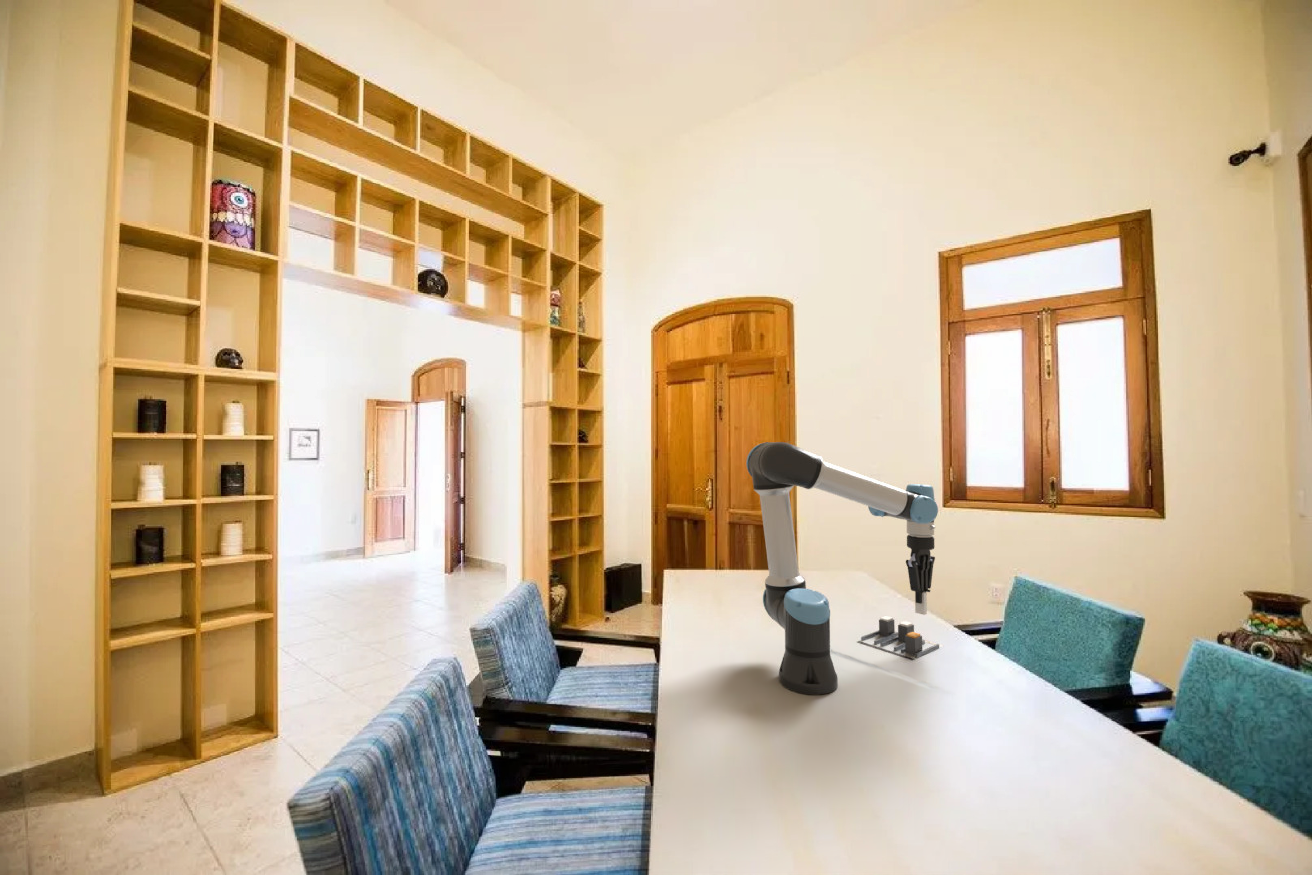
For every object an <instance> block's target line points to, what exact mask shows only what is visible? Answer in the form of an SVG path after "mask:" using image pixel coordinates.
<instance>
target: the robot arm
mask: <svg viewBox="0 0 1312 875" xmlns="http://www.w3.org/2000/svg"><path fill="white" fill-rule="evenodd" d="M745 465H746V469H747V473H748V474H749V475H750V476H751V479H752V486H753V491H754V492H756V493H757V494H758V495H759V500H760V510H761V516H762V517H761V518H762V524H763V525H762V526H763V535H764V541H765V551H766V559H767V560H766V561H767V566H768V576H767V577H766V578H765V579H764V585H765V589H764V591H763V595H762V604H763V607H764V610H765V611H766V613H767V614H768V616H769V618H771V619H772V620H773V621H775V623H777V624H778V625H779V626H780V627H781V628H783V629H784V654H783V656H782V661H781V663H780V667H779V669H778V681H779V683H780V684H781V685H782V686H783V687H784V688H786V689H788V690H790V691H792V692H796V693H799V694H804V695H805V694H806V695H815V696H816V695H817V696H818V695H820V696H821V695H827V694H830V693H832V692H834V691H836V690H837V688H838V686H839V685H838V679H839V678H838V674H837V672H836V670H835V667H834V663H833V660H832V656H831V626H830V625H831V624H830V623H831V619H830V617H831V610H830V602H829V599H828V598H827V597H826V595H824V594H823V593H822V592H819V591H817V590H813V589H809V588H807V585H806V578H805V576H804V575H803V574H802V573H800V571H799V563H798V556H797V553H798V552H797V545H796V537H795V531H794V530H795V529H794V522H793V520H794V519H793V513H792V505H791V499H790V496H791V495H790V492H791V490H793V488H794V487H796V486H797V487H800V488H802V489H806V490H811V489H817V490H820V491H824V492H825V493H828V494H832V495H835V496H837V497H841V498H843V499H846V500H850V501H852V502H856V503H858V504H861V505H864V506H866V507H868V511H869V513H870V514H871V515H872V516H874V517H881V518H884V517H891V518H895V519H900V520H906V534H907V535H906V547H907V548H908V549H911V550H910V554H909V556H910V559H906V560H905V564H906V567H907V572H908V573H907V574H908V580H909V588H910V590H911V592H914V597H915V598H914V599H915V600H914V601H915V602H914V605H915V607H914V608H915V610H914V611H915V612H914V613H916V614H920V615H923V616H925V615H927V614H928V613H927V612H928V611H927V610H928V609H927V608H928V607H927V604H928V602H927V601H928V600H927V598H928V597H927V594H928V593H931V588H932V580H933V579H932V578H933V573H934V572H933V571H934V564H935V560H936V557H935V556H934V555H933V556H932V555H931V551H932V550H934V549H935V537H934V535H935V529H936V526H935V520H936V518H937V517H938V513H939V506H938V504H937V501H936V500H935V499H936V498H935V492H934V491H935V490H934V487H933V486H932V485H930V484H923V483H922V484H919V483H917V484H916V483H913V484H907V485H906V489H905V490H904V489H902V488H900V487H897V486H894V485H891V484H888V483H885V482H882V481H879V480H877V479H874V478H871V477H868V476H865V475H862V474H859V473H857V472H854V471H851V470H848V469H846V468H843V467H840V466H837V465H834V464H831V463H830V462H829V463H828V462H826V461H824V460H823V458H822V456H820V455H818V454H815V453H813V452H809V451H808V450H805V449H803V448H801V447H798V446H796V445H793V444H791V443H789V442H783V441H775V442H772V441H771V442H770V441H769V442H768V441H766V442H762V443H760V444H757V445H755V446H754V447H752V449H751V450H750V451H749V453H748V454H747V457H746V464H745Z"/></svg>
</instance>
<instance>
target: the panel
mask: <svg viewBox="0 0 1312 875" xmlns="http://www.w3.org/2000/svg"><path fill="white" fill-rule="evenodd" d="M876 636H880V635H879V629H878V630H876V631H873V632H870V633H868V634H866V635H863V636H861V638H860V640H858V641H856V643H858V644H860V645H864V646H866V647H870V648H873V649H876V650H878V651H882V652H884V653H888V654H890V655H891V654H892V655H894V656H898V657H900V658H902V659H903V658H904V659H907V660H910V661H914V660H915V659H918V658H920V657H923V656H925V655H927V654H929V653H931V652H934V651H935V650H938V649H939V648H941V647H944V645H942V644H939V643H936V642H933V641H930V640H926V639H923V638H922V646H923V645H925V644H930V645H932V646H929V647H927V648H925V649H922V651H920V652H918V653H916V654H915V656H914V658H913V657H911V656H907V655H904V653H905V643H903V642H902V643H900V644H898V645H896V646H893V651H892V650H889V649H886V648H883V647H885V646H888V645H890V644H893V643H894V642H897V641H898V631H895V633H893V634H890V635H888V636H885V637H884V636H882V637H880V638H878V639H875V640H874V641H873V644H874V645H873V644H870V643H867V642H864V641H866V640H868V639H871V638H874V637H876ZM898 642H899V641H898ZM879 644H880V646H877V645H879ZM875 645H876V646H875ZM898 651H900V653H898ZM905 654H906V653H905Z"/></svg>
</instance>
